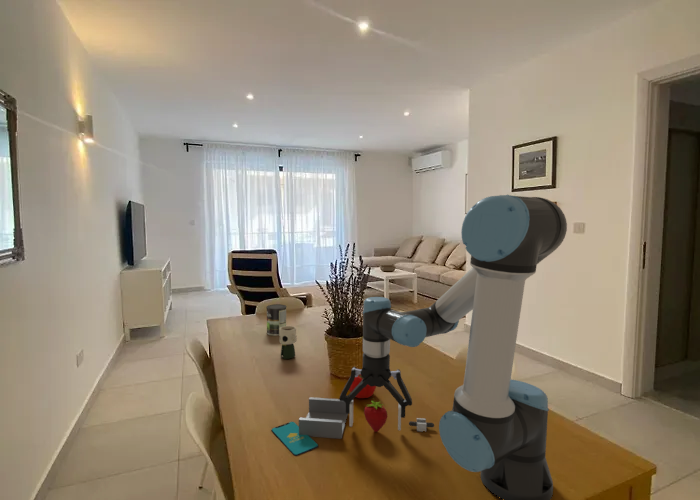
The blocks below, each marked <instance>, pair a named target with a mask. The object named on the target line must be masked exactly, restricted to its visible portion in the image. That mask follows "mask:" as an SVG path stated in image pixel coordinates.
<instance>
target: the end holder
mask: <svg viewBox="0 0 700 500" xmlns="http://www.w3.org/2000/svg"><path fill="white" fill-rule="evenodd" d="M348 416H349V414H346V403H345V402H344V401H340V400H339V398H328V397H327V398H323V397H310V396H309V398H308V413H307V414H306V417H301V416H300V417H299V418H298V426H299V434H301V435H308V436H309V437H311V438H312V437H315V438H324V439H325V438H328V439H339V440H342V439H343V435H344V432H345V427H346V424H345V423H346V422H347V420H346V419H347V418H348Z"/></svg>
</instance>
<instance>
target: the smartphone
mask: <svg viewBox="0 0 700 500" xmlns="http://www.w3.org/2000/svg"><path fill="white" fill-rule="evenodd" d="M271 432H272V433H273V435H274V436H275V437H276V438H277V439H278V440H279V441H280V442H281V443H282V444H283V446H285V448H286V449H288V450H289V452H290V453H291V454H292V456H296V457H297V456H298V457H299V456H300V455H303V454H305V453H307V452H309V451H313V450H315V449H318V448H319V444H318V443H317V442H316V441H315V440H314V439H313V438H312V437H311V436H308V435H301V434H299V424H297V423H296V422H294V421H289V422H287V423H283V424H281V425H277V426H275V427H273V428H271Z"/></svg>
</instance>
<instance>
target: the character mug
mask: <svg viewBox="0 0 700 500" xmlns="http://www.w3.org/2000/svg"><path fill="white" fill-rule="evenodd" d="M278 337H279V339H278V341H279V343H280V344H281V349H280V358H282V359H286V360H289V359H292V358H294V357H295V356H296V350H295V345H294V344H296V343H297V339H298V338H297V327H296V326H292V325H286V326H284V327H280V329H279V336H278Z"/></svg>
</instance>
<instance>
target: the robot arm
mask: <svg viewBox="0 0 700 500" xmlns="http://www.w3.org/2000/svg"><path fill="white" fill-rule="evenodd" d="M567 228H568V222H567V218H566V216H565V213H564V211H563V210H562V208H561V207H559V205H558V204H556V203H555V202H553V201H551V200H549V199H548V198H546V197H545V198H544V197H540V196H519V195H517V196H516V195H510V194H505V195H504V194H503V195H502V194H499V195H491V196H487V197H484V198H481V200H479V201H477V202H476V203H475V204H474V205H472V206H471V207H470V208H469V210H468V211H467V213H466V215H465V217H464V219H463V221H462V226H461V241H462V243H463V245H464V246H465V250H466V252H467V253H468V254H469V255H470V266H471V269H469V270H468V271H467V272H466V273H465V274H463V276H462V277H461V278H459V279H458V281H456V282H455V283H454V284H453V285H451V287H450V288H449V289H447V291H445V293H443V294H442V295H441V296H440V297H438V299H437V300H436V301H434V303H433V304H431V305H429V307H425V308H418V309H414V310H408V311H399V310H394V309H392V302H391V300H390V299H389V298H388V297H385V296H384V297H383V296H370V297H367V298H365V299H364V300H363V307H362V308H363V310H362V352H363V353H362V368H361V369H360V368H357V367H356V366H353V367H352V368H351V371H350V376H349V378H348V380H347V382H346V384H345V385H344V387H343V389H342V390H341V393H340V395H339V398H338V399H339V400H340V401H344V402H345V403H346V414H348V416H349V419H348V420H349V421H348V422H349V427H351V428H353V425H354V424H353V423H354V399H355V398H357V397H356V395H357V394H358V393H359V392H360V391H361V390H362V389H363V388H365V387H366V385H367V384H368V385H370V386H372V387H373V386H376V388H382V387H383V386H384V388H385V390H387V391H388V392H389V394H391V395H392V397H393V398H394V399H395V401H396V402H397V403H398V406H397V409H398V411H397V413H398V414H397V431H401V430H402V418H405V417H406V407H407V406H410V407H411V406H412V405H413V399H412V397H411V394H410V392H409V391H408V388H407V386H406V384H405V383H404V380H403V378H402V374H401V370H400V369H398V368H397V369H396V370H392V371H391V369H390V366H391V365H390V364H391V363H390V362H391V360H390V359H391V356H390V352H391V350H390V349H391V348H390V347H391V341H393V342H395V343H397V344H400V345H402V346H406V347H410V348H416V347H418V346H420V344H421V343H423V342H424V340H425V338H430V337H434V336H437V335H443V334H448V333H450V332H451V331H454V330H455V329H457V327H458V325H459V322H460V320H461V319H462V318H464V317H465V316H466V315H467V314H469V313H470V312H471V311H472V314H471V321H470V329H469V337H468V344H467V352H466V362H465V370H464V376H463V384H462V385H460V386H457V388H456V389H455V390H454V394H453V401H452V402H453V404H452V409H451V410H448V411H446V412H444V414H443V415H442V416H441V417H440V419H439V422H438V423H439V425H438V431H439V436H440V439H441V443H442V444H443V446H444V447H445V449H446V452H447V453H448V455H449V456H450V457H451V459H452V460H453V461H454V462H455V463H456V464H457V465H459V466H460V467H461V468H463V469H465V470H467V471H468V472H472V473H479V472H480V479H481V483H482V484H483V485H485V486H486V487H487V488H488V489H489V490H490V491H491V492H492V493H494V494H495V495H497V496H498V497H500V498H502V499H504V500H550V499H551V500H552V498H553V496H552V495H553V494H554V493H553V491H554V482H553V477H552V475H551V471H550V468H549V464H548V462H547V458H546V451H547V449H546V448H547V436H548V416H549V411H550V409H549V404H548V403H549V400H548V395H547V394H546V393H545V392H544V390H542V389H541V388H539V387H537V386H535V385H533V384H531V383H528V382H524V381H521V380H516V379H512V373H513V366H514V360H515V353H516V346H517V345H516V344H517V338H518V332H519V324H520V317H521V311H522V305H523V297H524V291H525V284H526V280H527V279H529V278H530V277H532V276H533V275H534V274H536V272H537V265H538V264H540V263H541V262H542V261H543V260H544V259H546V258H547V257H548V256H550V255H551V254H552V253H554V252H555V251H556V250H557V249H559V247H560V246H561V245H562V243H563V242H564V239H565V237H566V236H567V231H568V229H567ZM359 374H361V376H362V377H363V379H362V381H361V382H360V383H359V384H358V385H357V386H356V387H355V389H354V390H353V391H352V392H349V389H350V387H351V385H352V383H353V381H354V379H355V377H358V375H359ZM391 377H393V379H394V380H396V382H397V385H398V388H399V389H400V391H401V393H402V395H401V393H400V392H399V391H398V389H396V387H395V386H394V385H393V384H392V383H391V381H390V378H391ZM348 392H349V394H348ZM485 486H484V487H485ZM486 487H485V488H486ZM487 488H486V489H487ZM488 489H487V490H488ZM489 490H488V491H489ZM490 491H489V492H490ZM491 492H490V493H491ZM492 493H491V494H492ZM494 494H493V495H494ZM495 495H494V496H495ZM497 496H496V497H497ZM498 497H497V498H498ZM551 497H552V498H551ZM500 498H499V499H500ZM502 499H501V500H502Z"/></svg>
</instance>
